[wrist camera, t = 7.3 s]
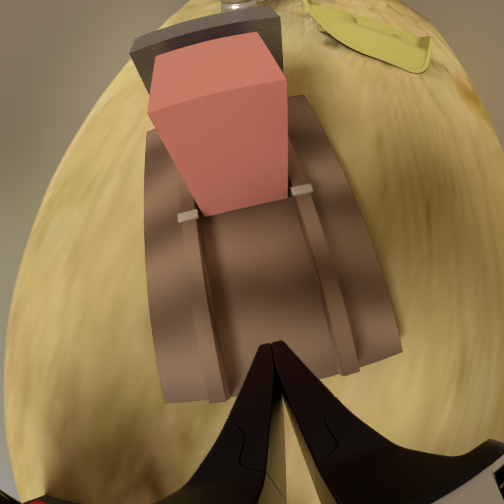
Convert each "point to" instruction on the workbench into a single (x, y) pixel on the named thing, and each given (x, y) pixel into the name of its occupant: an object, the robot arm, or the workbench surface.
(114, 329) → the workbench surface
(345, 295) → the wooden pallet
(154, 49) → the end stop
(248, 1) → the plastic bottle
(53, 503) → the cleaning product box
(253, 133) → the pink rectangular block
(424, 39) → the plastic component
